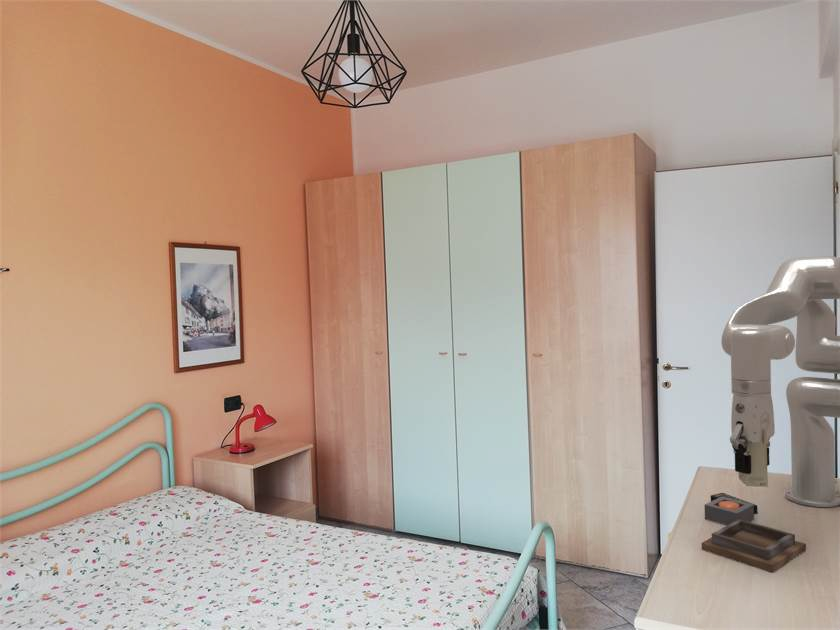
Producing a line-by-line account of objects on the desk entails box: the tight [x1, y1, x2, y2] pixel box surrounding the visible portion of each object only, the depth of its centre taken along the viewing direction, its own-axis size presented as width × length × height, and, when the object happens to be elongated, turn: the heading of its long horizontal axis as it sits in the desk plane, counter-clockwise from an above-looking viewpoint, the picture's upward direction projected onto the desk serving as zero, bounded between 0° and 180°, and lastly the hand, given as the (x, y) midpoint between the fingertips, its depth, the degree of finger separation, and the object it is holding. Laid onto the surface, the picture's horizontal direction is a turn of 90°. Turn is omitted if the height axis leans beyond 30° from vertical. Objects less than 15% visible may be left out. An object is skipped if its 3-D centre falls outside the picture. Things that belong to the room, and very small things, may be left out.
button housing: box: [704, 497, 755, 526], centre depth 157 cm, size 8×8×4 cm
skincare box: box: [738, 429, 769, 488], centre depth 139 cm, size 6×4×12 cm
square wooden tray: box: [701, 519, 807, 574], centre depth 140 cm, size 15×15×4 cm
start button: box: [719, 501, 739, 510], centre depth 157 cm, size 4×4×2 cm
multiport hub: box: [710, 492, 758, 515], centre depth 164 cm, size 4×11×2 cm, turn 22°
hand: (752, 467), depth 139 cm, fingers closed on skincare box, 7 cm apart
